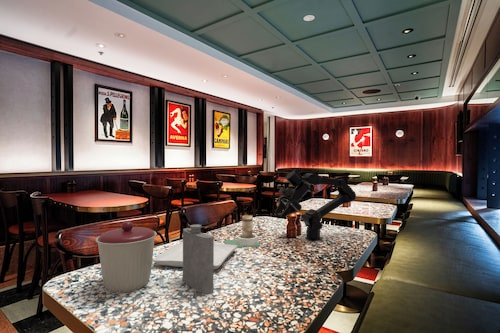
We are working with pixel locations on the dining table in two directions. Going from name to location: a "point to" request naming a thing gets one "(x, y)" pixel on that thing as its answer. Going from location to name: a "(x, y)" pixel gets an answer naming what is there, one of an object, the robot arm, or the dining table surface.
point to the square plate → (176, 255)
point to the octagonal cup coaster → (243, 241)
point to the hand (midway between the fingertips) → (278, 214)
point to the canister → (126, 257)
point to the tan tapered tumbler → (247, 227)
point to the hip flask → (198, 259)
